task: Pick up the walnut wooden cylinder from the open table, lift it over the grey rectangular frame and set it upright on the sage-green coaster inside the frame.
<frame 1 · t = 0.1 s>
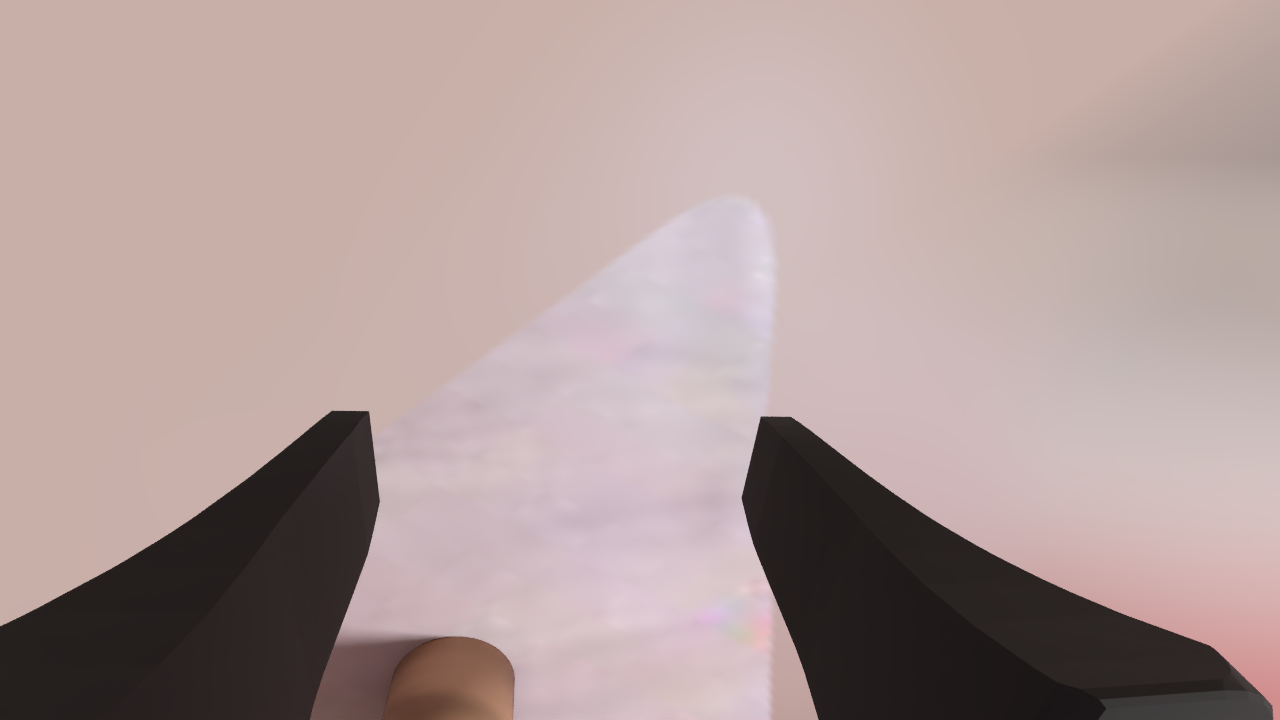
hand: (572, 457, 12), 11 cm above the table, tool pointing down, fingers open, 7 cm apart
walnut cylinder: (454, 683, 26), on the table
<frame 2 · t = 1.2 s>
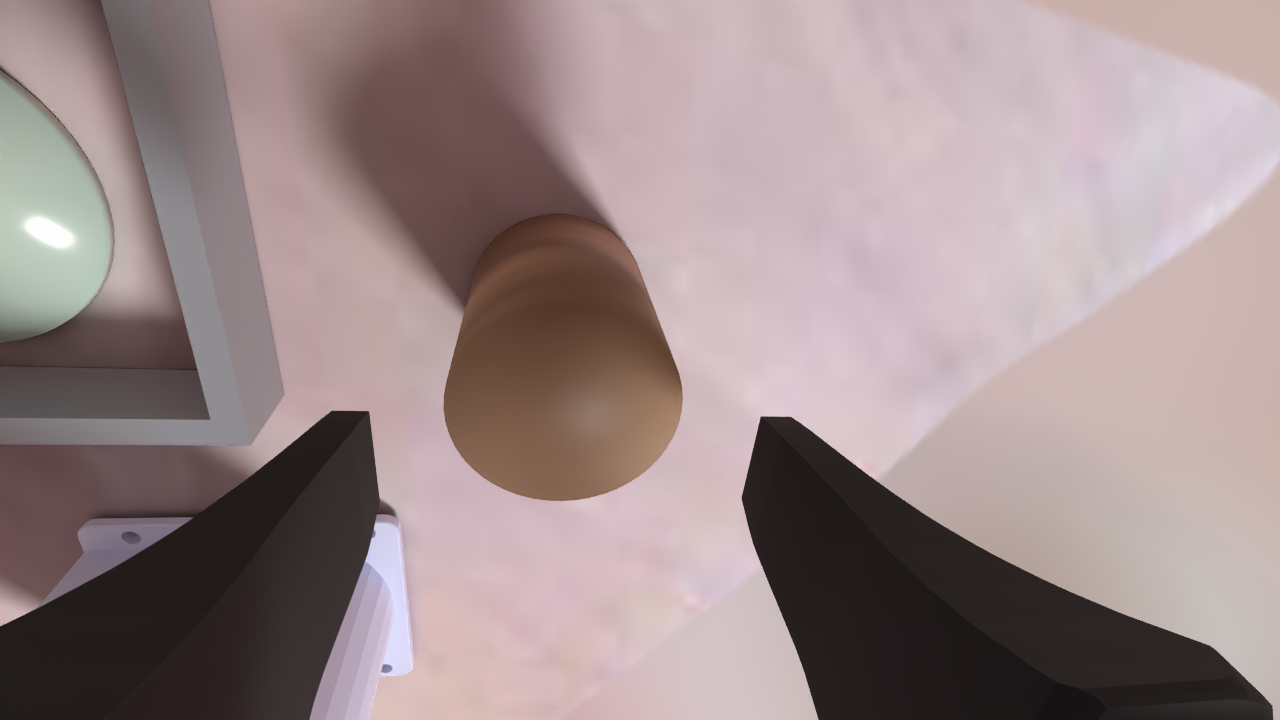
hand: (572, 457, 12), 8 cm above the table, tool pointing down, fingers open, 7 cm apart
walnut cylinder: (559, 297, 18), on the table
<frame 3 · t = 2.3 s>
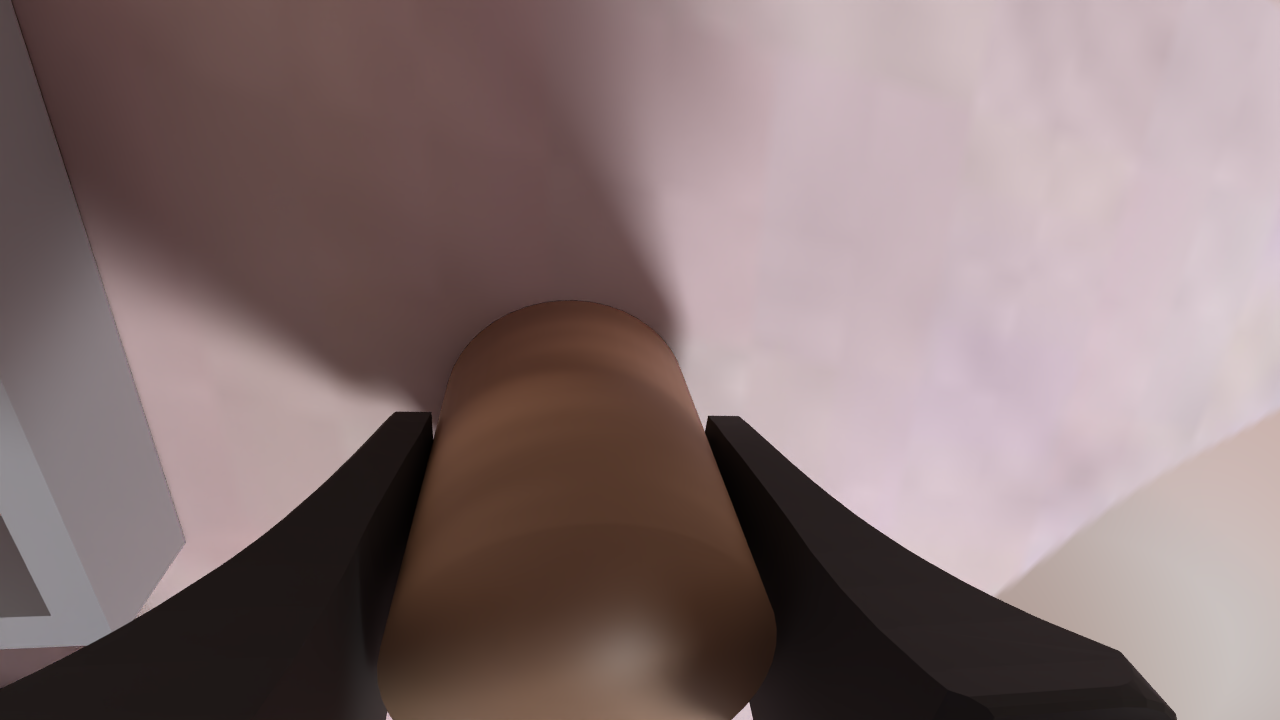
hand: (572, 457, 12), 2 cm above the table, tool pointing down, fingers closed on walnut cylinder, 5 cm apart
walnut cylinder: (568, 410, 13), on the table, touching gripper
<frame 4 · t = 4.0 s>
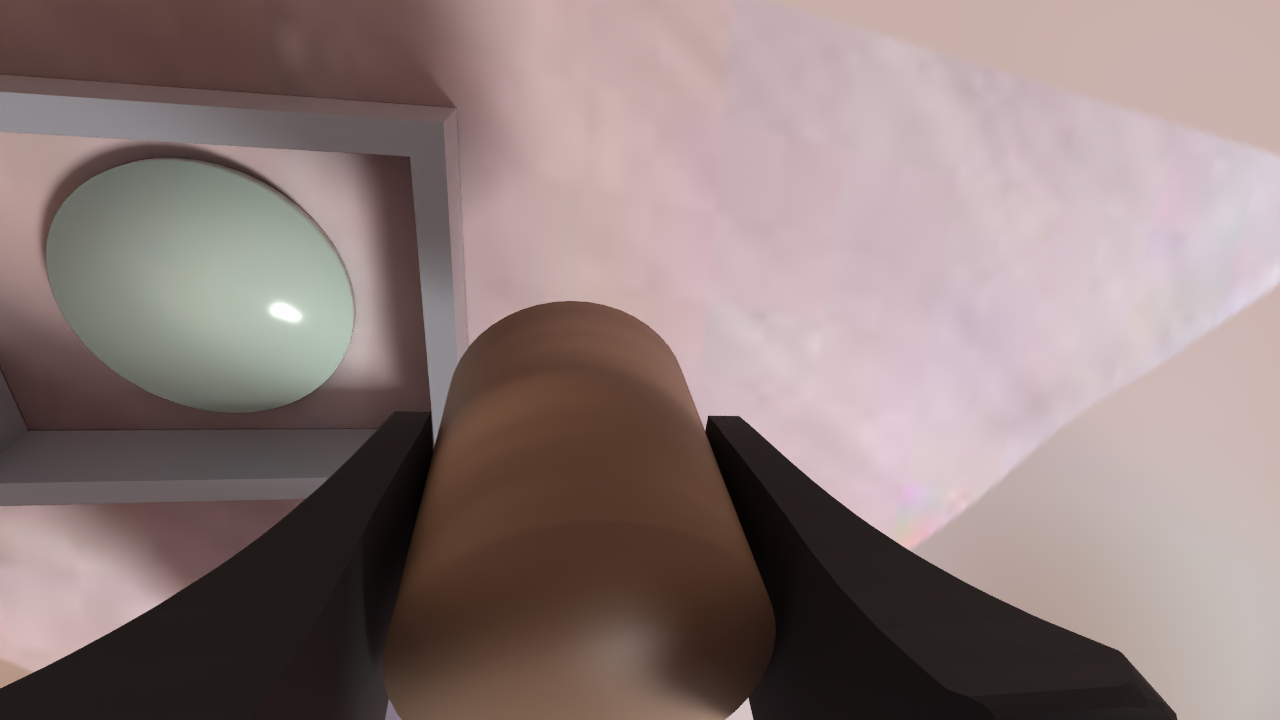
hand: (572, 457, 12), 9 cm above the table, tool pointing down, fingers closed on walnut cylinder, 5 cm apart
grey rectangular frame: (213, 294, 18), on the table
walnut cylinder: (570, 409, 13), point 7 cm above the table, touching gripper
coaster: (213, 294, 18), resting in grey rectangular frame
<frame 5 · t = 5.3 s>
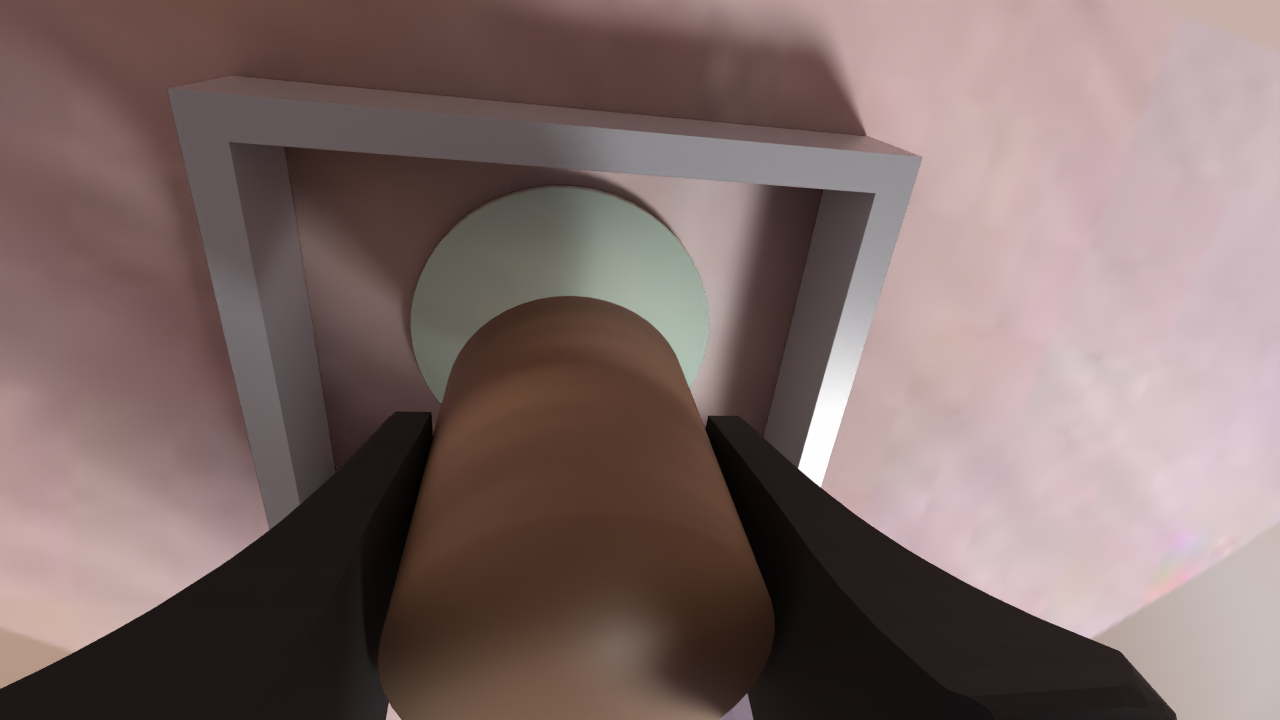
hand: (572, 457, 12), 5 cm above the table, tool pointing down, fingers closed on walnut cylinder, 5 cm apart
grey rectangular frame: (564, 330, 16), on the table
walnut cylinder: (568, 405, 13), point 4 cm above the table, touching gripper
coaster: (564, 330, 16), resting in grey rectangular frame
when the fingers open (4 cm above the table, at t = 6.1 s): walnut cylinder drops 1 cm, resting on coaster.
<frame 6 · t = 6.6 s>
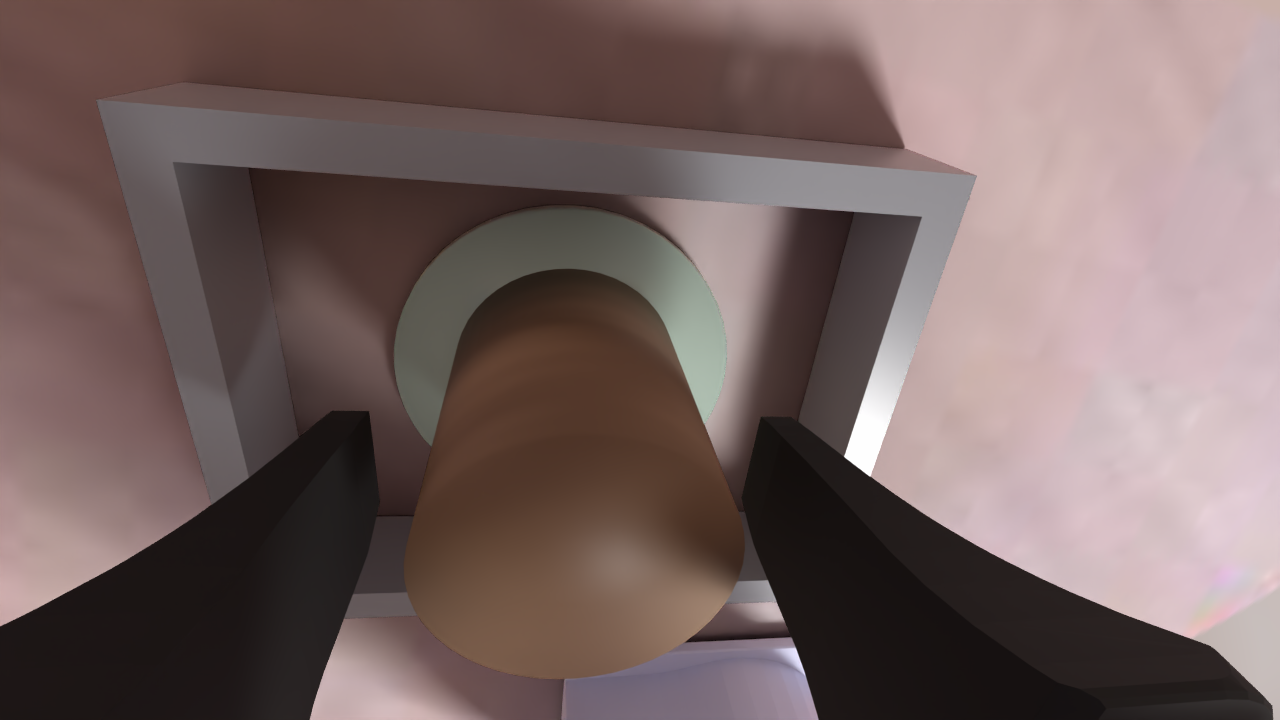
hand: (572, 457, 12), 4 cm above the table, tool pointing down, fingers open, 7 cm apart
grey rectangular frame: (566, 363, 15), on the table
walnut cylinder: (567, 370, 14), resting on coaster
coaster: (566, 363, 15), resting in grey rectangular frame
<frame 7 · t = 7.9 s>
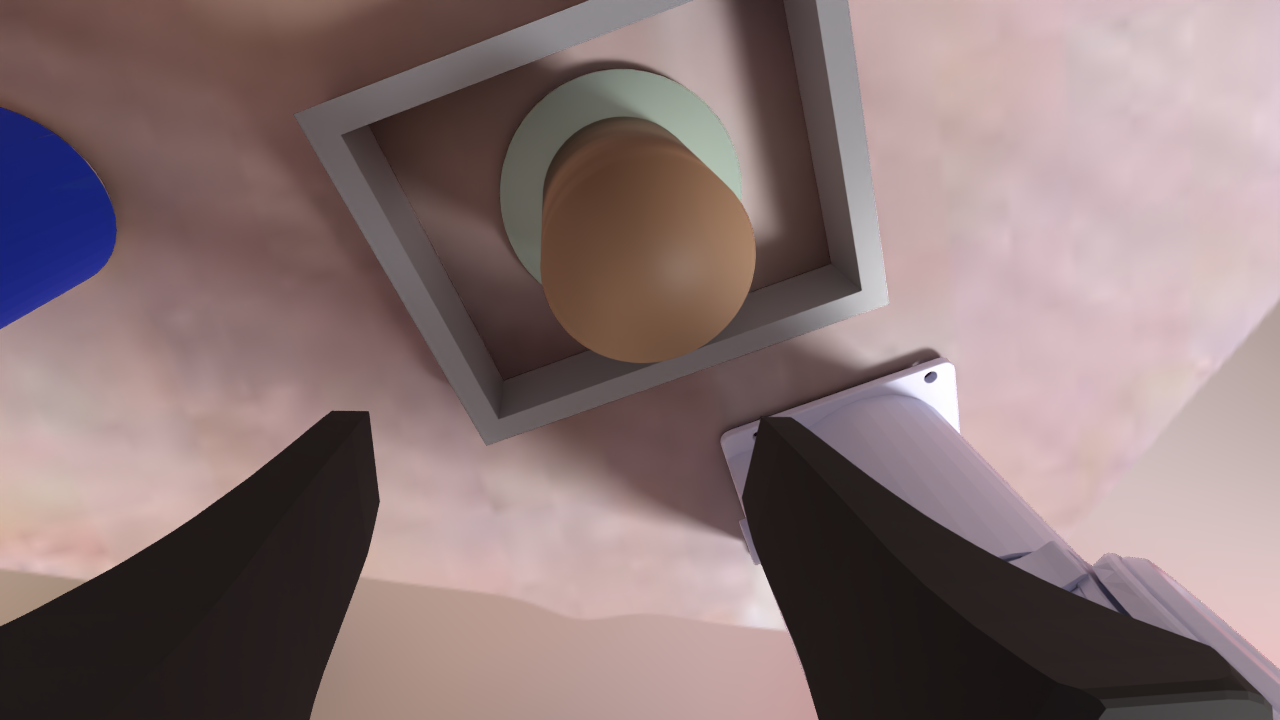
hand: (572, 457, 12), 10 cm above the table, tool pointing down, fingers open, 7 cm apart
beverage can: (30, 194, 18), on the table
grey rectangular frame: (622, 199, 20), on the table
walnut cylinder: (623, 201, 20), resting on coaster
coaster: (622, 199, 20), resting in grey rectangular frame
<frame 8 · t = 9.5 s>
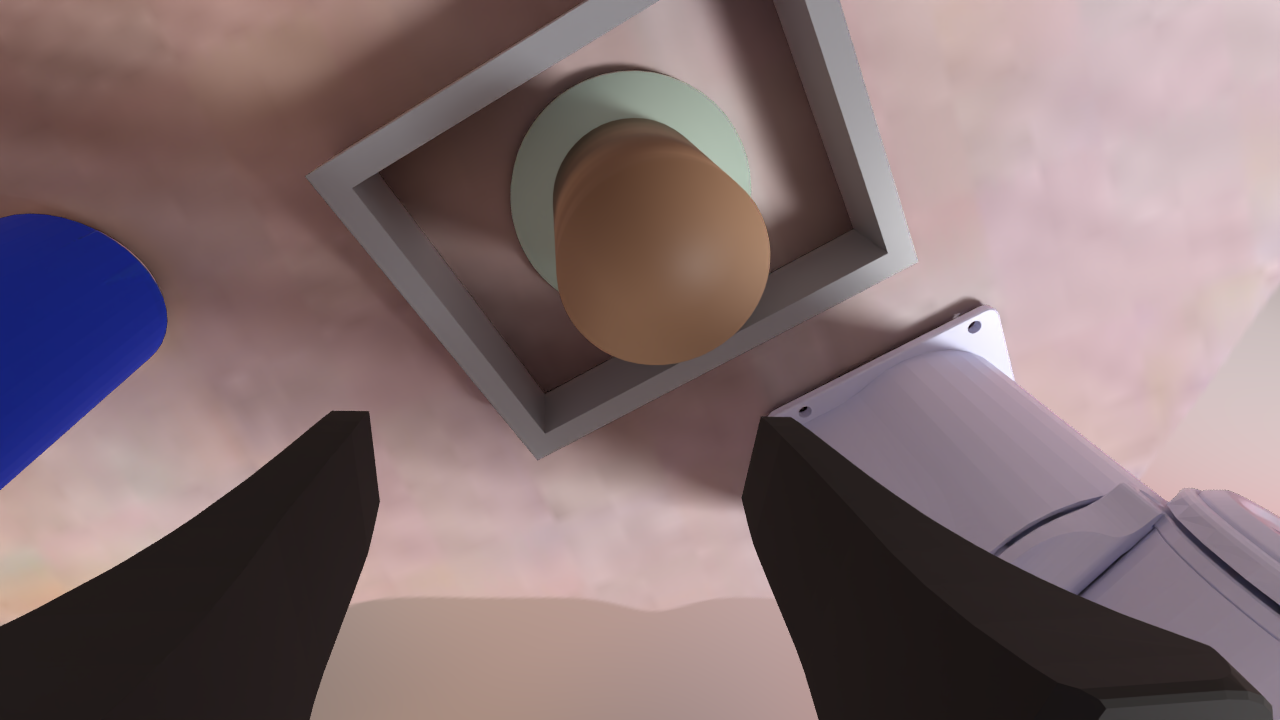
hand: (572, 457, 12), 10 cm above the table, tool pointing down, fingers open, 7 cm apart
beverage can: (86, 288, 19), on the table
grey rectangular frame: (631, 200, 20), on the table
walnut cylinder: (633, 202, 20), resting on coaster
coaster: (631, 200, 20), resting in grey rectangular frame
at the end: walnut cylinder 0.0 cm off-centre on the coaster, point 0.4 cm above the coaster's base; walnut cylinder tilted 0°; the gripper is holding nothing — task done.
